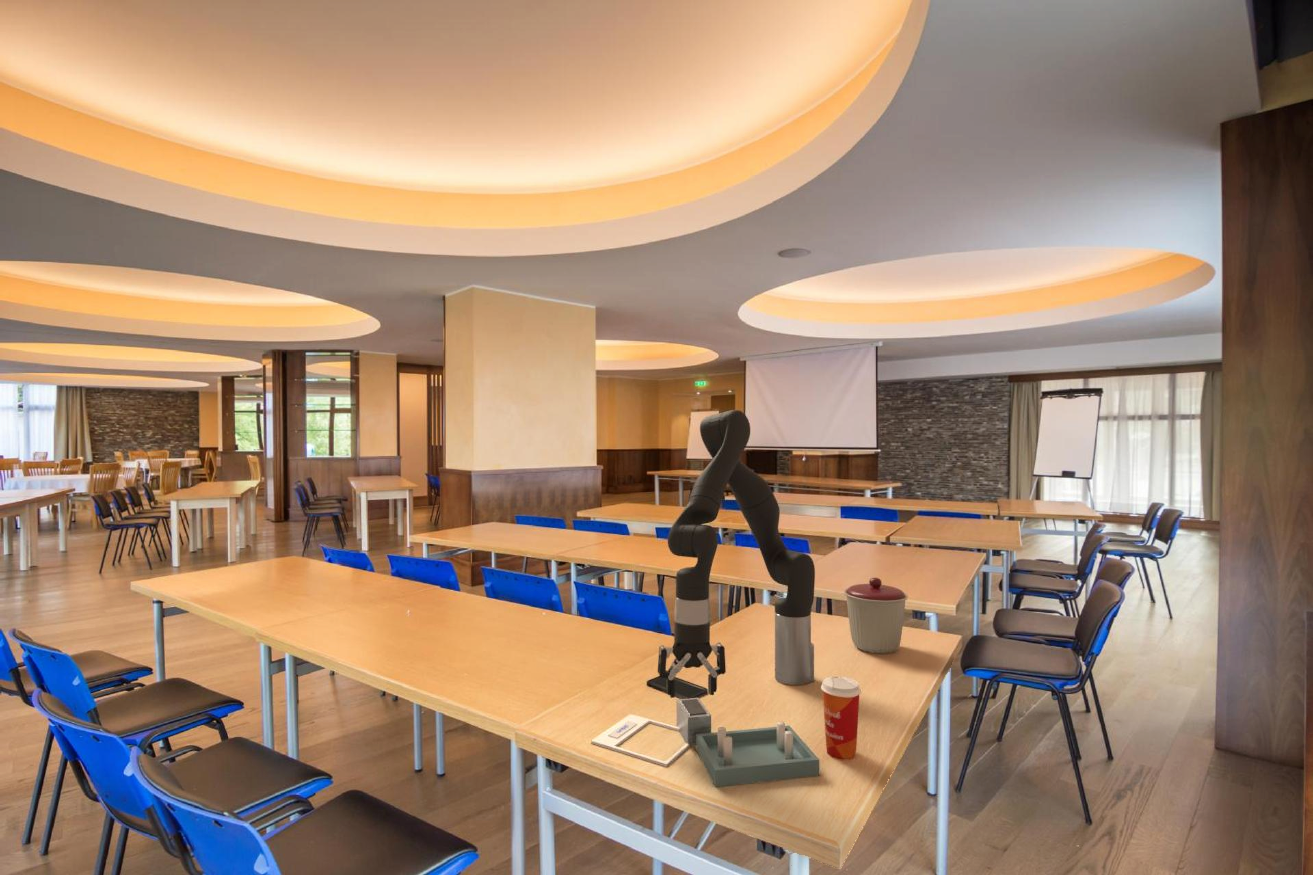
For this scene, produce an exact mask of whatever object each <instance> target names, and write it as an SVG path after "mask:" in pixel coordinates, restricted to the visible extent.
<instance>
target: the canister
mask: <svg viewBox="0 0 1313 875" xmlns="http://www.w3.org/2000/svg"><path fill="white" fill-rule="evenodd" d="M843 594H844V595H845V596H846V604H847V605H846V606H847V614H848V623H849V624H848V625H849V630H850V636H851V640H852V643H853V645H854V646H855V647H856V648H858V649H859V650H861V651H864V652H867V653H873V654H890V653H893V652H896V651H897V650H898V649H899V648H900V645H901V641H902V635H903V627H904V618H905V610H906V608H905V607H906V601H907V600H908V598H909V595H908V594H907V593H905V592H904V591H903V590H902V589H901V588H897V587H894V586H890V585H886V584H883V582H882V579H880V578H879V577H871V578H870V579H869V581H868V583H859V584H858V583H857V584H854V585H851V586H849V587H848V588H846V589H844V590H843Z"/></svg>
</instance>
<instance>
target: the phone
mask: <svg viewBox="0 0 1313 875" xmlns="http://www.w3.org/2000/svg"><path fill="white" fill-rule="evenodd" d="M666 680H667V679H666V678H661V677H660V675H658V676H656V677H653V678H651V679H648V680H646V686H648V687H649V688H653V689H655V690H658V691H660V692H663V693H665V694H667V695H668V693H667V690H666ZM674 680H675V697H674V698H678V699H679V700H680V699H690V698H700V697H702V696H705V695H707V694H709V692H708V687H704V686H702V685H699V684H696V683H693V682H690V681H688V680H684V679H682V678H679V677H676V676H675V677H674Z"/></svg>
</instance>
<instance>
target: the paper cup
mask: <svg viewBox="0 0 1313 875" xmlns="http://www.w3.org/2000/svg"><path fill="white" fill-rule="evenodd" d="M820 689H821V690H822V700H823V718H824V731H825V732H824V733H825V734H824V735H825V746H826V747H825V748H826V753H827V755H829V756H830V757H831V758H834V759H837V760H839V761H840V760H841V761H850V760H853V759H854V758H855V757H856V756H857V754H856V753H857V745H858V744H857V742H858V741H857V740H858V724H859V707H860V695H861V694H862V689H861V688H860V684H859V682H857V681H856V680H854V679H852V678H849V677H845V676H832V677H831V676H829V677H826V678H824V679H823V681H822V684H821V686H820Z"/></svg>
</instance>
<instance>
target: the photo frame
mask: <svg viewBox="0 0 1313 875" xmlns="http://www.w3.org/2000/svg"><path fill="white" fill-rule="evenodd" d="M648 724H652V725H655V726H659V727H662V728H666V729H670V730H672V731H673V730H674V731H677V732H679V728H678V727H677V725H671V724H668V723H665V722H661V721H657V720H653V719H650V718H646V717H642V716H639V715H636V714H635V715H634V714H632V713H630V714H628V715H627V716H625V717H623V718H622V719H621V720H619V721H618V722H617V723H615V724H613V725H611V727H610V728H607V730H605V731H603V732H602V733H600V734H599V735H597V736H596V737H594V738H593V739H592V740H591V741H590V742H591V744H592V745H596V746H598V747H602V748H605V749H609V750H610V751H615V752H617V753H620V754H624V755H626V756H631V757H634V758H637V759H641V760H644V761H647V762H650V763H653V764H655V765H656V764H657V765H660V766H662V767H665V768H666V767H669V765H671V764H672V763H673V762H674V761H675V760H676V759H677V758H678V757H680V756H681V755H682V754H683V753H685V751H686V750H687V749H688V748H690V747H689V744H687V743H685V744H684V745H683V746H682V747H681V748H679V749H678V750H677V751H676V752H675V753H674V754H673V755H671V756H670V757H669V758H668V759H667V760H665V761H664V760H661V759H658V758H654V757H652V756H648V755H645V754H641V753H639V752H635V751H631V750H628V749H626V748H622V747H619V746H620V745H621V744H623V743H624V742H625V741H626V740H628V739H630V738H631V737H632V736H633V735H635V734H636V733H638V732H639V731H640V730H641V729H643V728H644V727H647V725H648Z"/></svg>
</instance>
